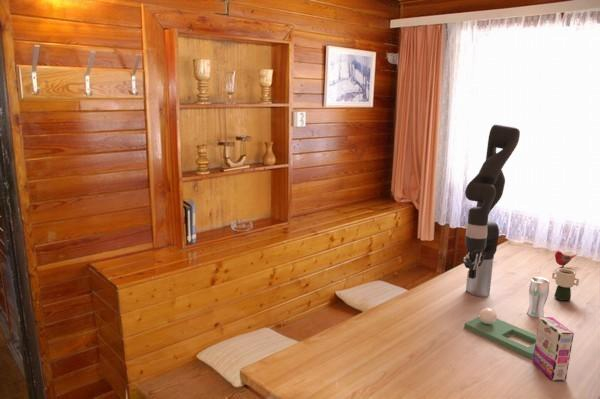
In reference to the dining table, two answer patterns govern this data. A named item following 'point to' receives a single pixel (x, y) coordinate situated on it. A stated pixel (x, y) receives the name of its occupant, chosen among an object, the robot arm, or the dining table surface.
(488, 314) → the ball
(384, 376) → the dining table surface
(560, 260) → the decorative bird figurine
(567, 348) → the candy bar box
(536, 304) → the beer glass
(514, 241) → the dining table surface
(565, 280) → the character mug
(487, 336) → the putting mat
